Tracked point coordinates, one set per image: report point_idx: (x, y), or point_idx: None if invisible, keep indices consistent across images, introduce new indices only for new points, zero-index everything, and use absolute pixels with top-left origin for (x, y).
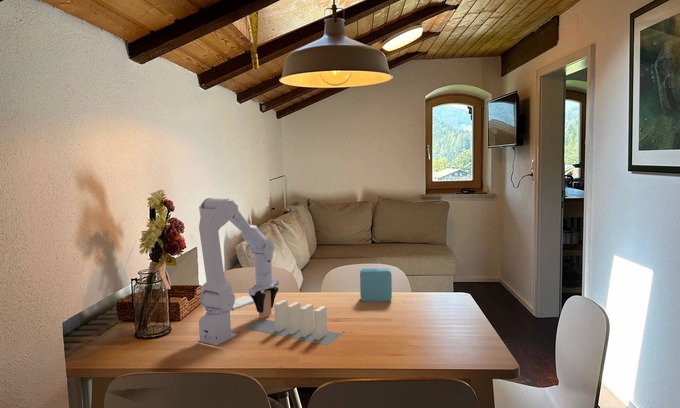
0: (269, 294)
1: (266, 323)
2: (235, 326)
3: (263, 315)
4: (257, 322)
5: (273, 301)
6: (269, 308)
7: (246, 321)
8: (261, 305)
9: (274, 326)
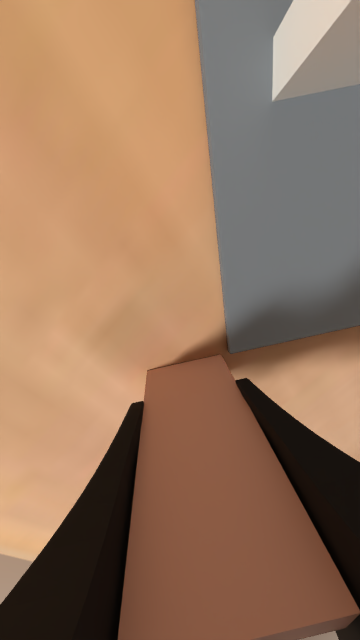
0: (154, 565)
1: (278, 279)
2: (345, 372)
3: (220, 368)
4: (284, 332)
5: (119, 444)
6: (162, 401)
7: (276, 385)
8: (295, 419)
9: (305, 182)
